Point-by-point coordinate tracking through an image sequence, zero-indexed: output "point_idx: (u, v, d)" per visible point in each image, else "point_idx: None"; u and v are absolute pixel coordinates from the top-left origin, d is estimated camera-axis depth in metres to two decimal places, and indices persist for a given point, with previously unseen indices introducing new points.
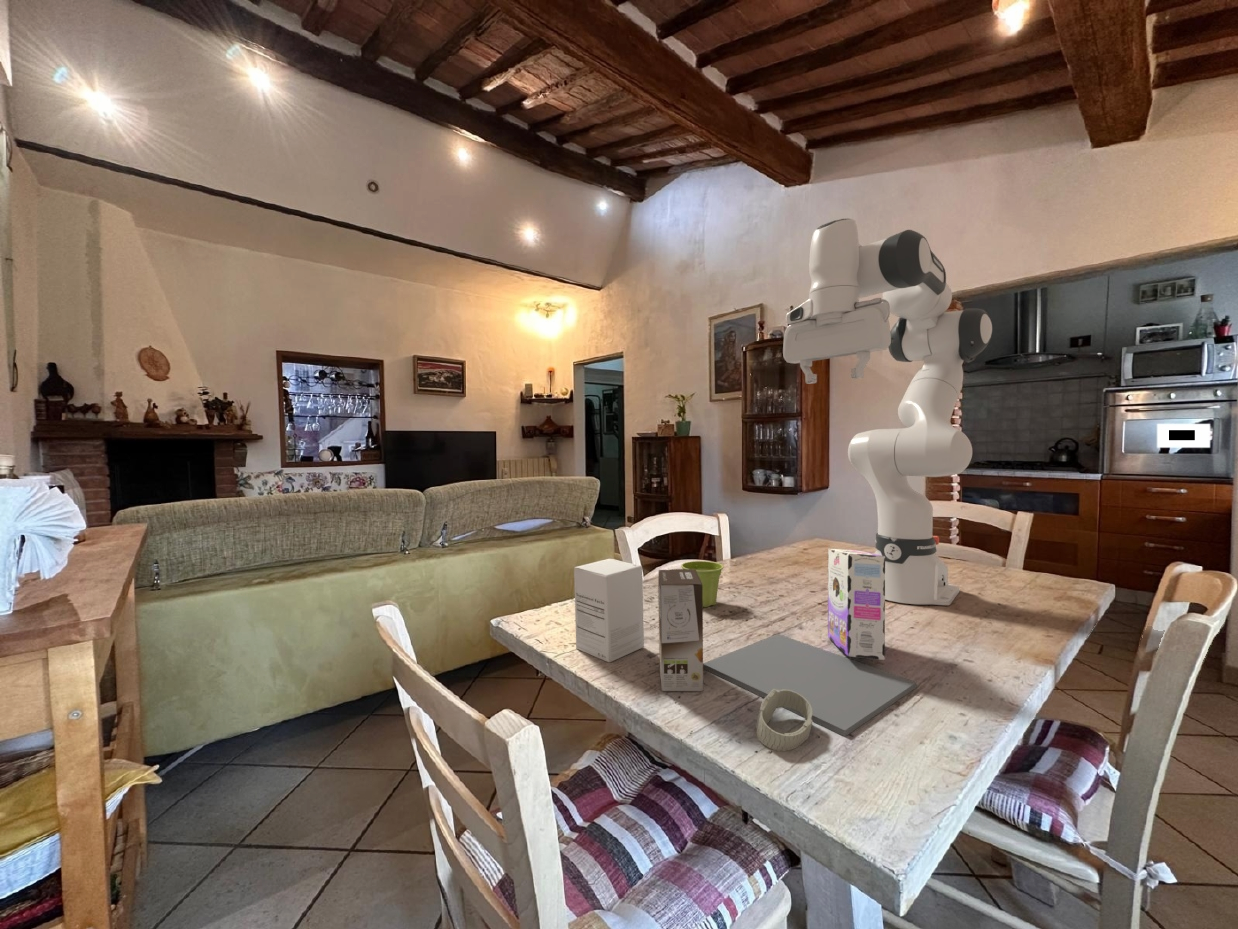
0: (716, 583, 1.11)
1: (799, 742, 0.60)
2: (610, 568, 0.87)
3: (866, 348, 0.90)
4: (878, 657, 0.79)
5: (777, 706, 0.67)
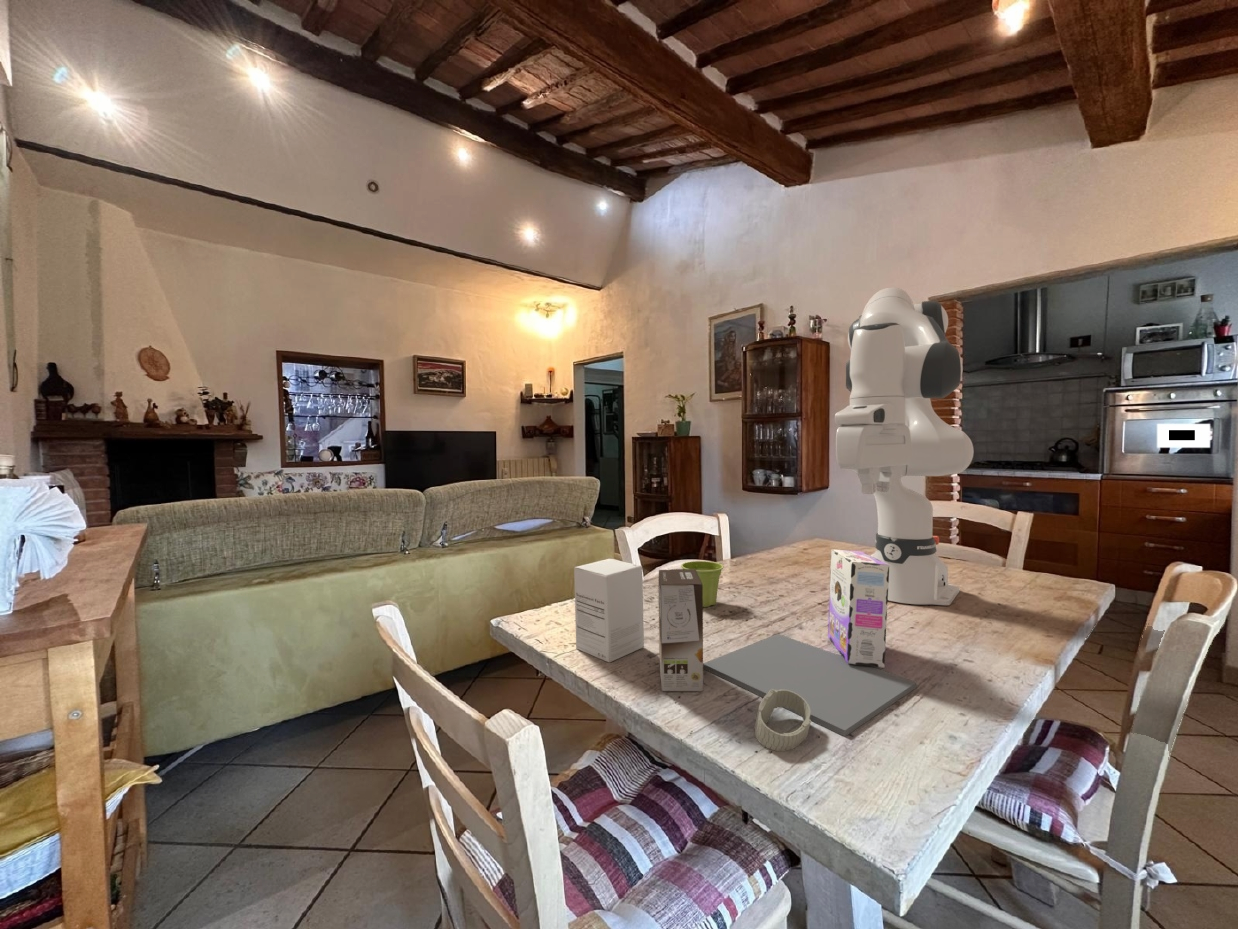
0: (716, 583, 1.11)
1: (798, 742, 0.60)
2: (610, 568, 0.87)
3: (905, 464, 0.92)
4: (878, 665, 0.79)
5: (775, 706, 0.67)
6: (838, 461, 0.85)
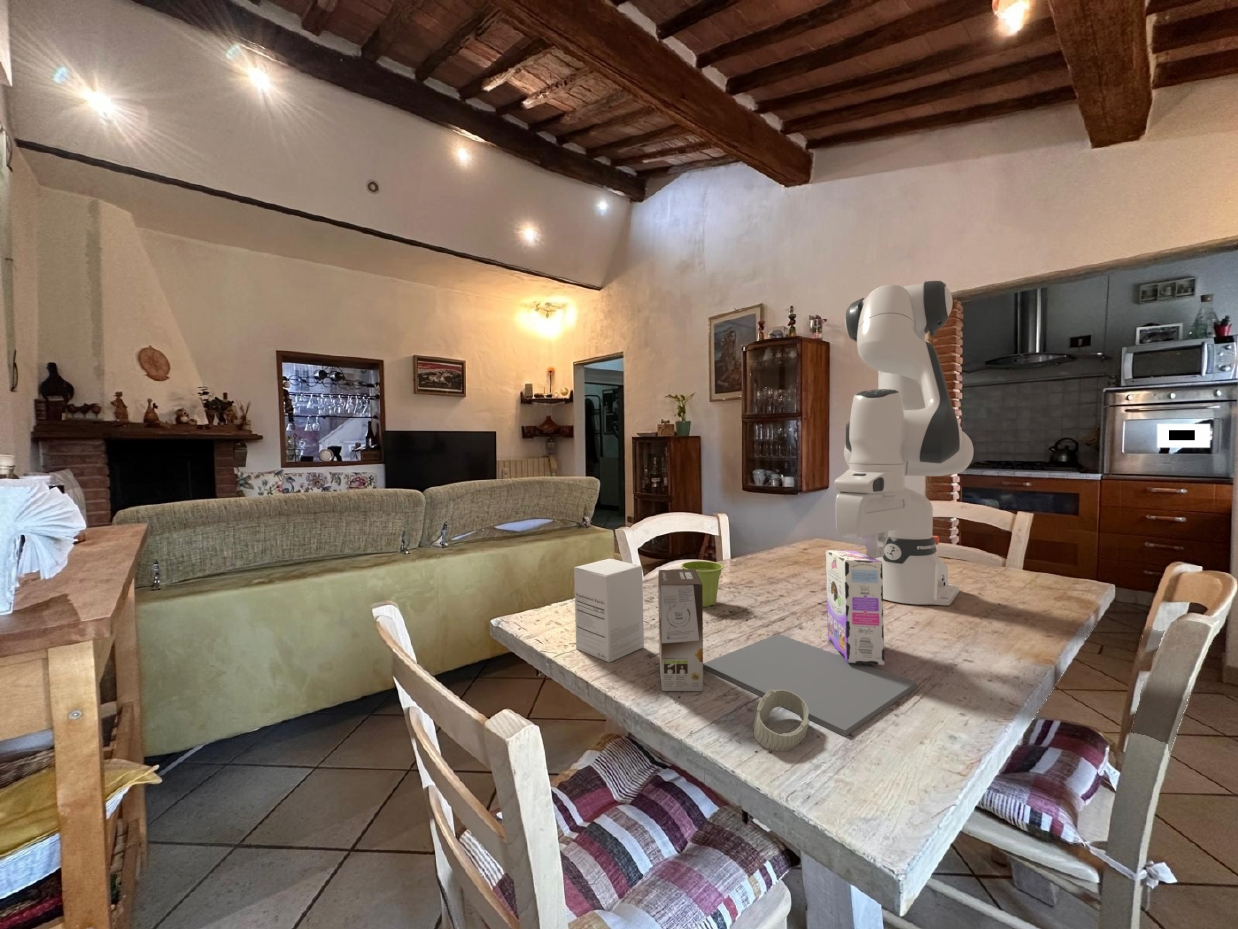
0: (716, 583, 1.11)
1: (797, 742, 0.60)
2: (610, 568, 0.87)
3: (904, 527, 0.93)
4: (878, 662, 0.79)
5: (773, 706, 0.67)
6: (837, 529, 0.85)
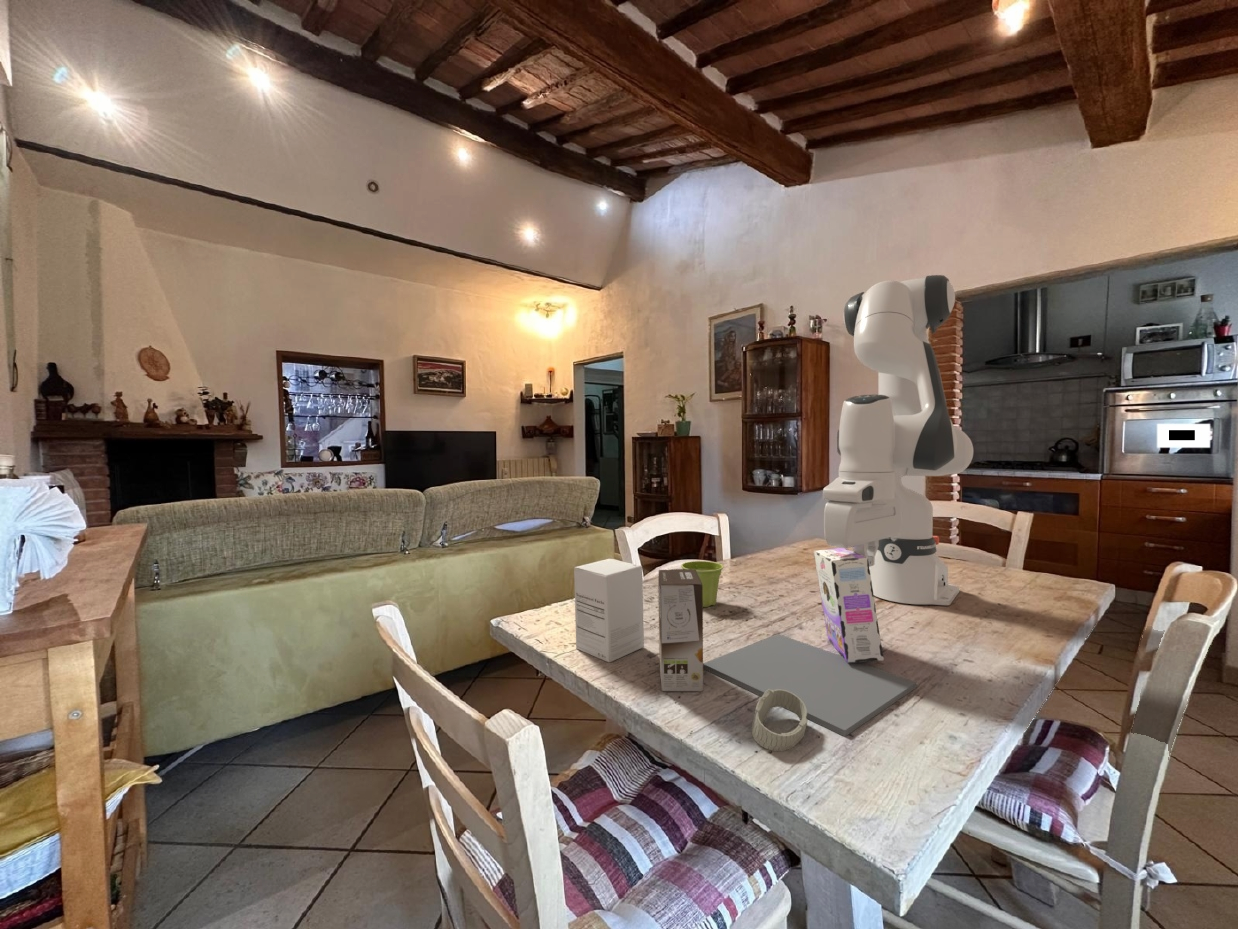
0: (716, 583, 1.11)
1: (795, 742, 0.60)
2: (610, 568, 0.87)
3: (895, 535, 0.91)
4: (877, 658, 0.79)
5: (771, 706, 0.67)
6: (826, 539, 0.83)
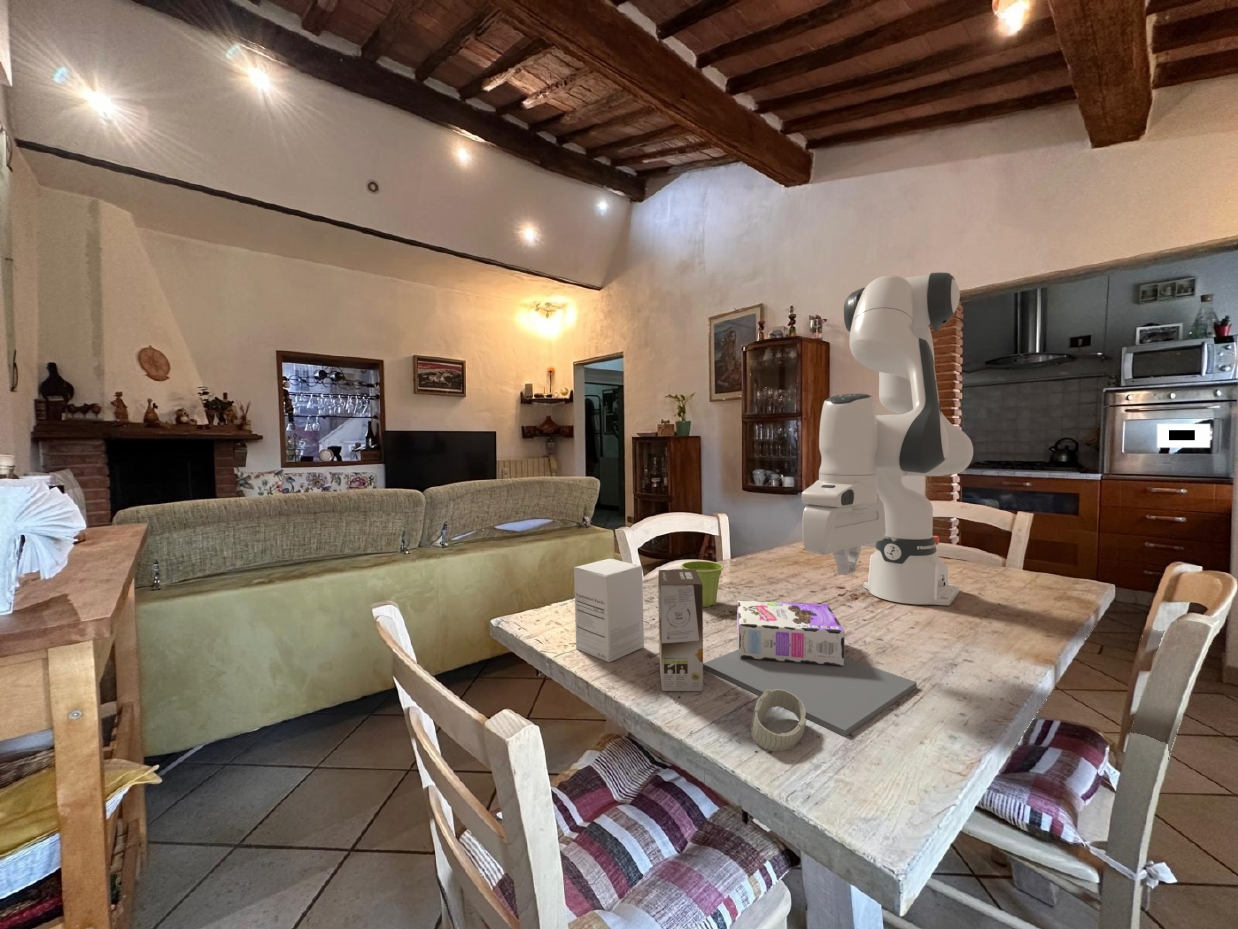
0: (716, 583, 1.11)
1: (794, 742, 0.60)
2: (610, 568, 0.87)
3: (878, 540, 0.87)
4: (842, 637, 0.79)
5: (770, 706, 0.67)
6: (804, 545, 0.79)
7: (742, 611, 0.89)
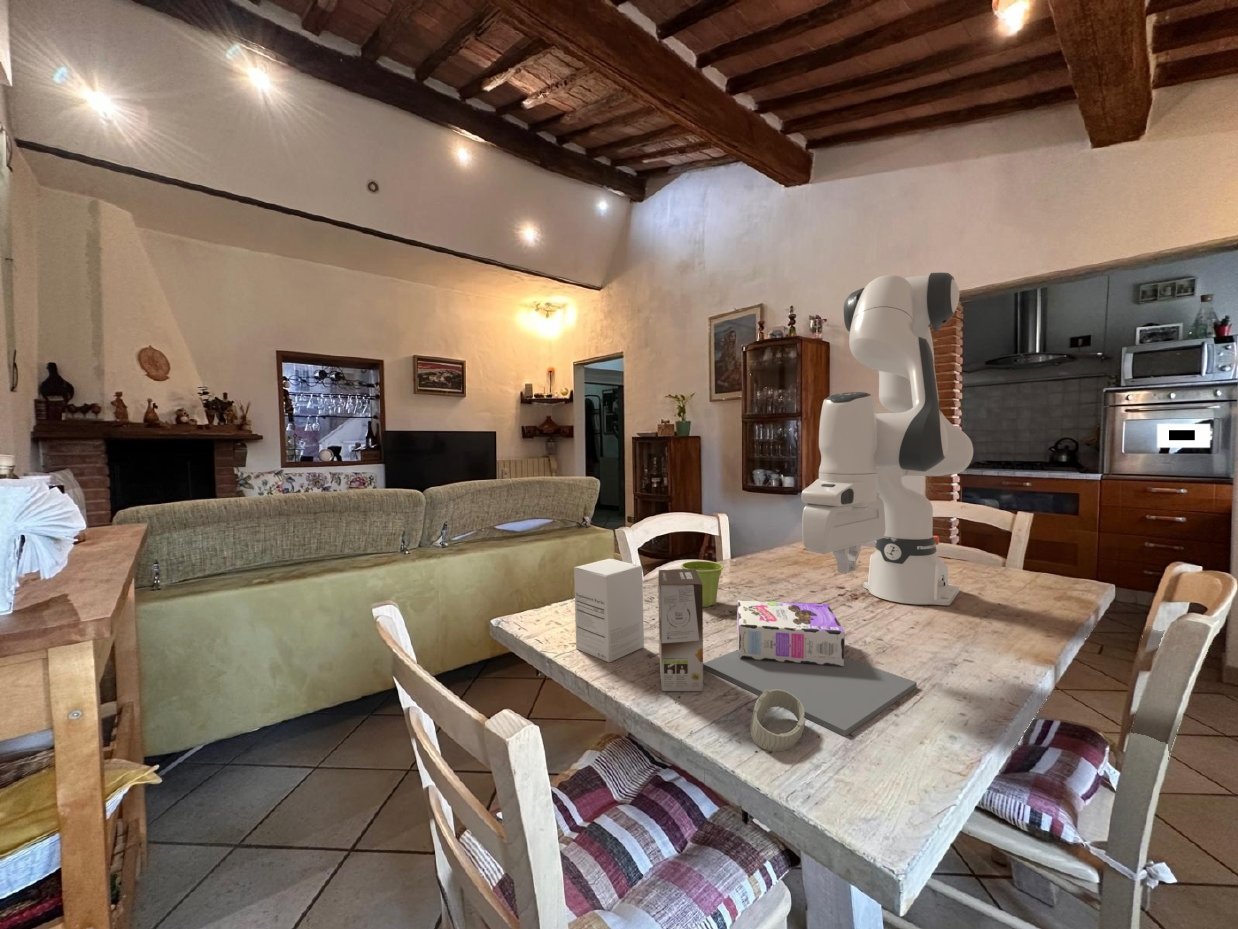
0: (716, 583, 1.11)
1: (793, 742, 0.60)
2: (610, 568, 0.87)
3: (878, 538, 0.87)
4: (842, 638, 0.79)
5: (768, 706, 0.67)
6: (804, 544, 0.79)
7: (742, 611, 0.89)
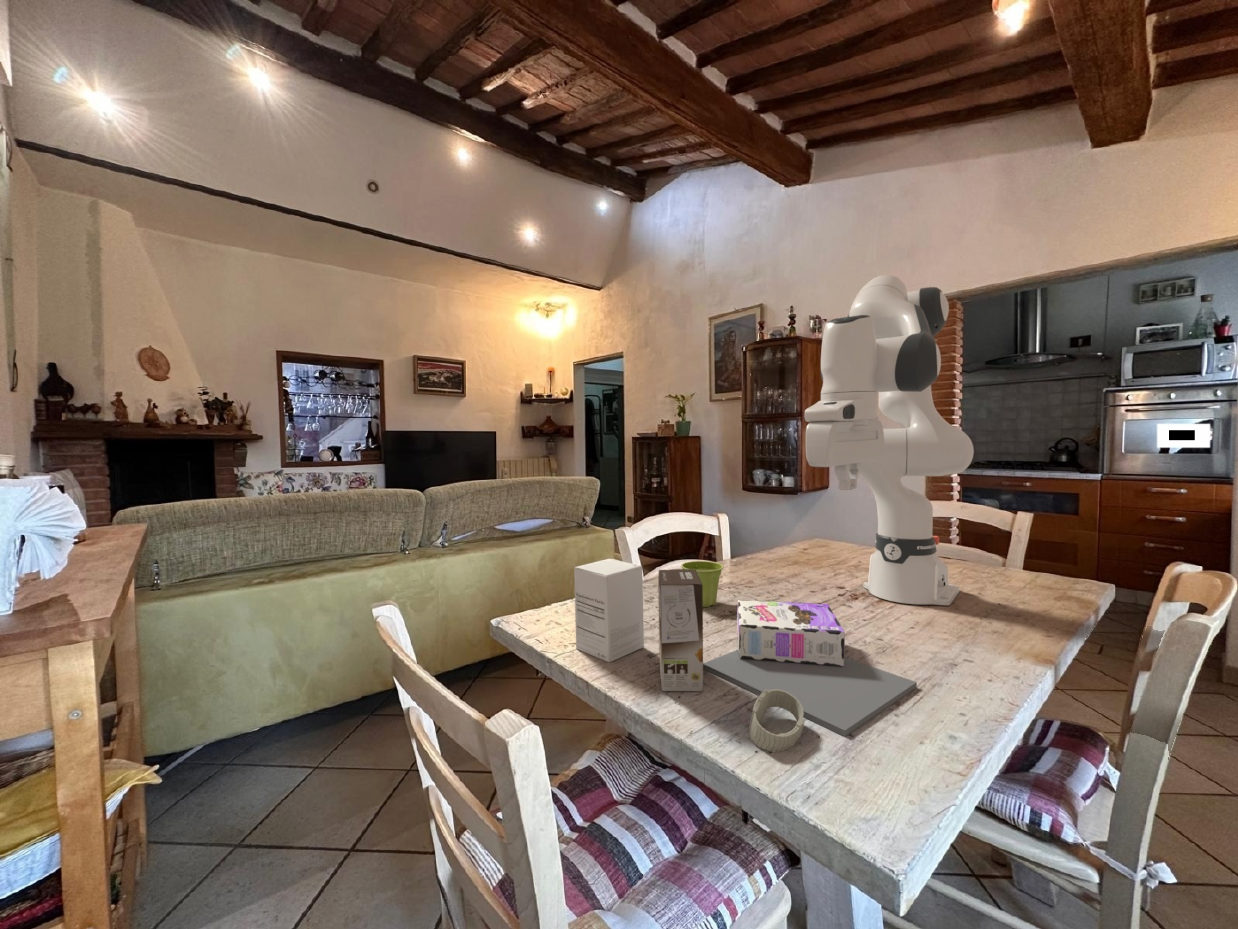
0: (716, 583, 1.11)
1: (793, 742, 0.60)
2: (610, 568, 0.87)
3: (877, 459, 0.91)
4: (842, 638, 0.79)
5: (767, 706, 0.67)
6: (807, 459, 0.83)
7: (742, 611, 0.89)
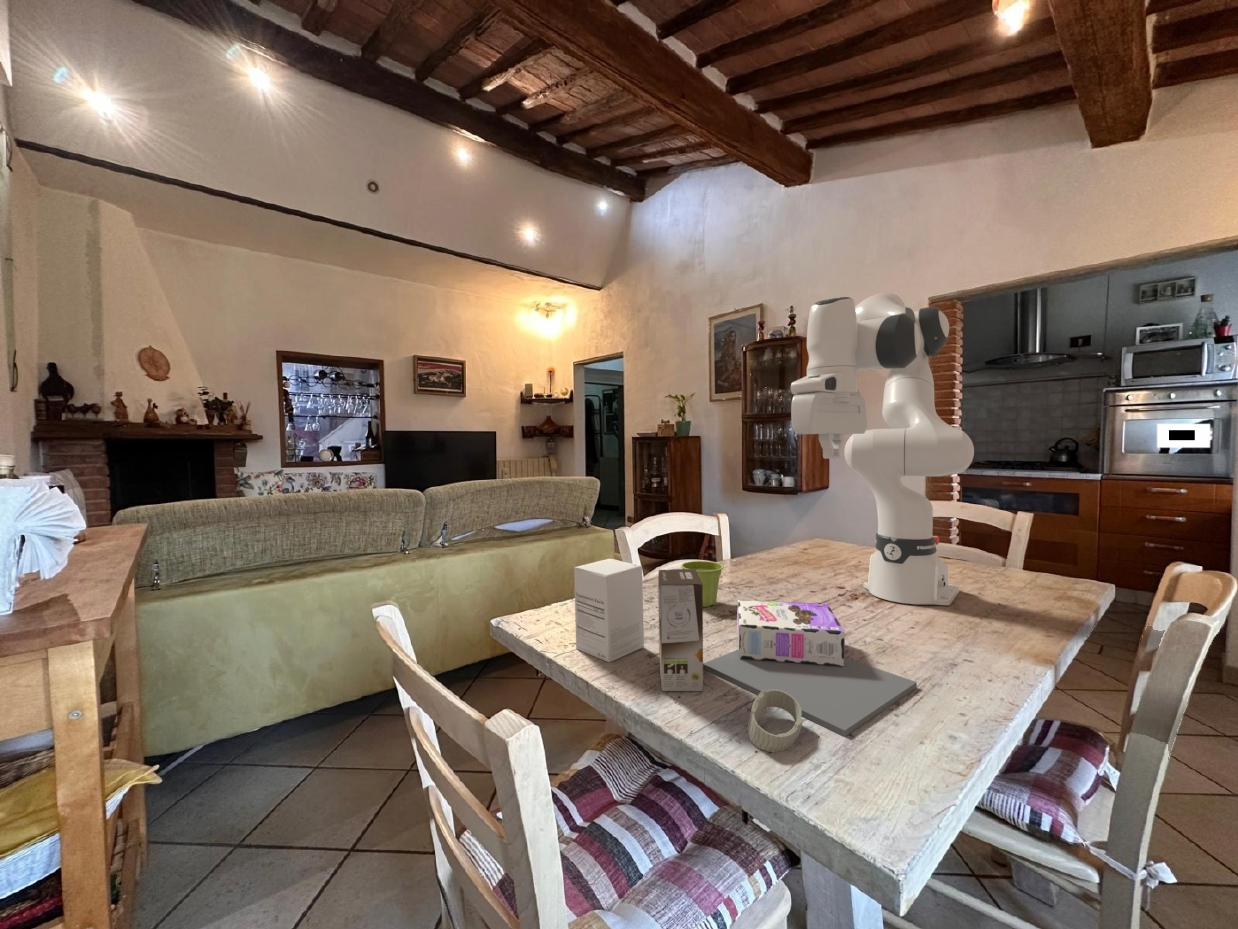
0: (716, 583, 1.11)
1: (791, 742, 0.60)
2: (610, 568, 0.87)
3: (859, 432, 0.98)
4: (842, 638, 0.79)
5: (765, 706, 0.67)
6: (793, 427, 0.90)
7: (742, 611, 0.89)
